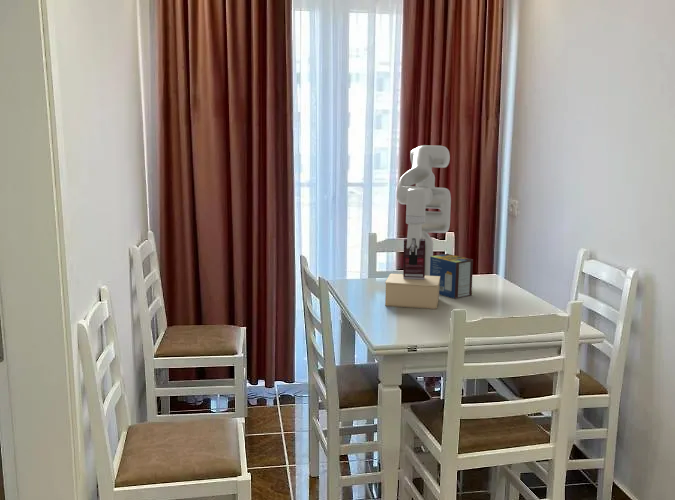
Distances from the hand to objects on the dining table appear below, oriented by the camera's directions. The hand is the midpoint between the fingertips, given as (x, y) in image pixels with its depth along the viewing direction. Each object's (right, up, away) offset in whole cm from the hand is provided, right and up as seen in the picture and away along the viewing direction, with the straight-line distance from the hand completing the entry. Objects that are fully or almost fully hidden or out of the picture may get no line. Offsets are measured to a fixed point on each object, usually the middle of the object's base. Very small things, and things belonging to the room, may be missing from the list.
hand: (414, 262), depth 271 cm
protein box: (+17, -14, +18) cm, 28 cm away
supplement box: (0, -7, +2) cm, 7 cm away
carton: (0, -16, +2) cm, 16 cm away
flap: (0, -7, 0) cm, 7 cm away
